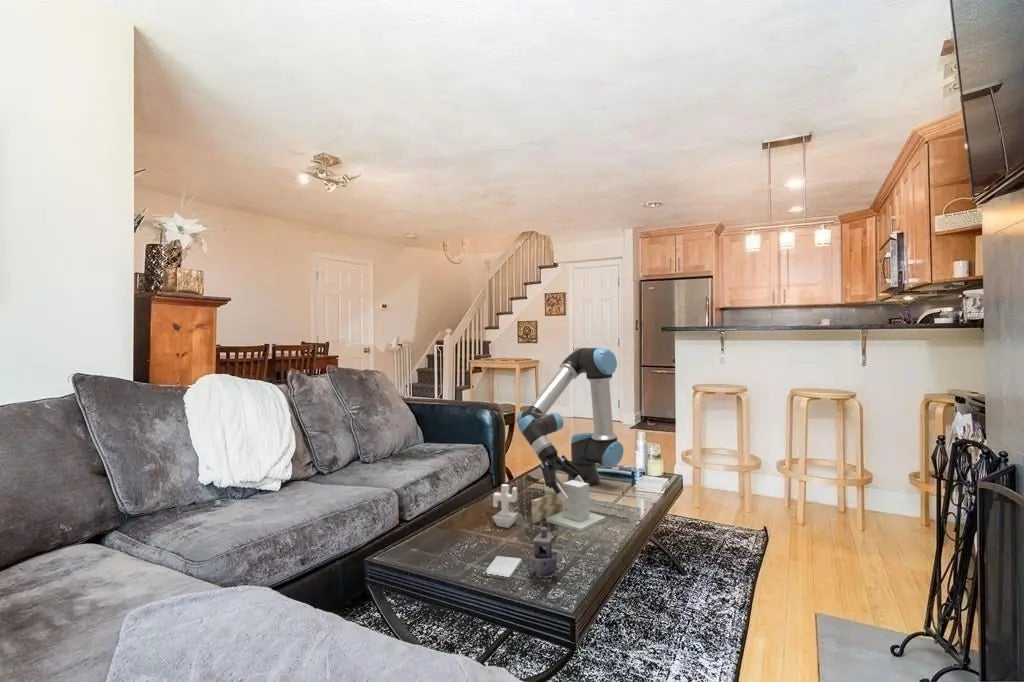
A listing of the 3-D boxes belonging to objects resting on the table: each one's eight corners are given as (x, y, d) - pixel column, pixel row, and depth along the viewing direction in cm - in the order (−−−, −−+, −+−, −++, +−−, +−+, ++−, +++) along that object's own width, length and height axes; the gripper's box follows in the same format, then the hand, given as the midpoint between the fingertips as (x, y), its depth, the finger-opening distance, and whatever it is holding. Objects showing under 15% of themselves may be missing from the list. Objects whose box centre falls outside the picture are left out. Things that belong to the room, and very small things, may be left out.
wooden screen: (569, 506, 208) (569, 486, 208) (572, 506, 207) (572, 487, 207) (531, 521, 191) (531, 500, 191) (534, 522, 190) (534, 501, 190)
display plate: (571, 510, 203) (571, 507, 203) (605, 520, 192) (605, 516, 192) (546, 521, 191) (546, 518, 191) (581, 532, 180) (581, 528, 180)
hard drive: (496, 555, 159) (482, 572, 147) (521, 558, 157) (509, 576, 145) (496, 560, 159) (482, 578, 147) (521, 563, 157) (509, 582, 145)
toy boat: (537, 562, 156) (536, 519, 156) (562, 565, 154) (562, 521, 154) (524, 585, 142) (524, 538, 142) (552, 589, 139) (552, 541, 139)
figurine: (497, 519, 193) (497, 480, 193) (520, 523, 189) (520, 483, 189) (489, 526, 186) (489, 485, 186) (512, 530, 183) (512, 488, 183)
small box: (590, 517, 191) (589, 483, 191) (580, 522, 186) (579, 487, 186) (572, 512, 197) (572, 479, 197) (562, 517, 192) (562, 482, 192)
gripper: (558, 450, 212) (589, 493, 202) (518, 461, 194) (550, 509, 184) (568, 439, 208) (600, 482, 198) (529, 449, 190) (561, 498, 180)
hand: (576, 495), depth 191 cm, fingers open, 13 cm apart
